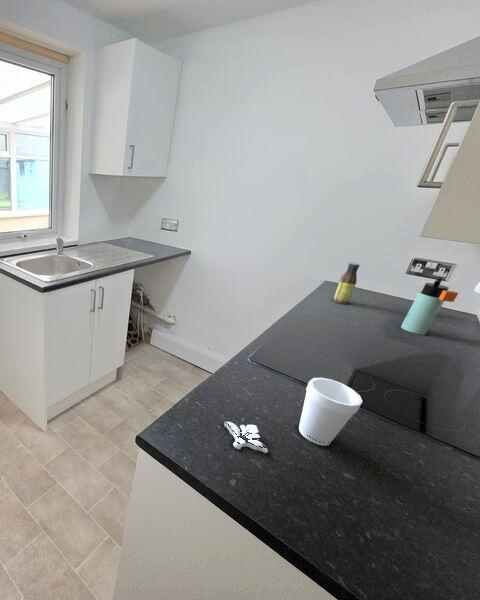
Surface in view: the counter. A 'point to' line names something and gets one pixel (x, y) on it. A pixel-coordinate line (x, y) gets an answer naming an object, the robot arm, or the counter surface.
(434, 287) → the sports bottle
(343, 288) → the sauce bottle
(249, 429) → the acanthus leaf ornament
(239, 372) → the counter surface
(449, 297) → the nozzle button
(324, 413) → the foam cup
